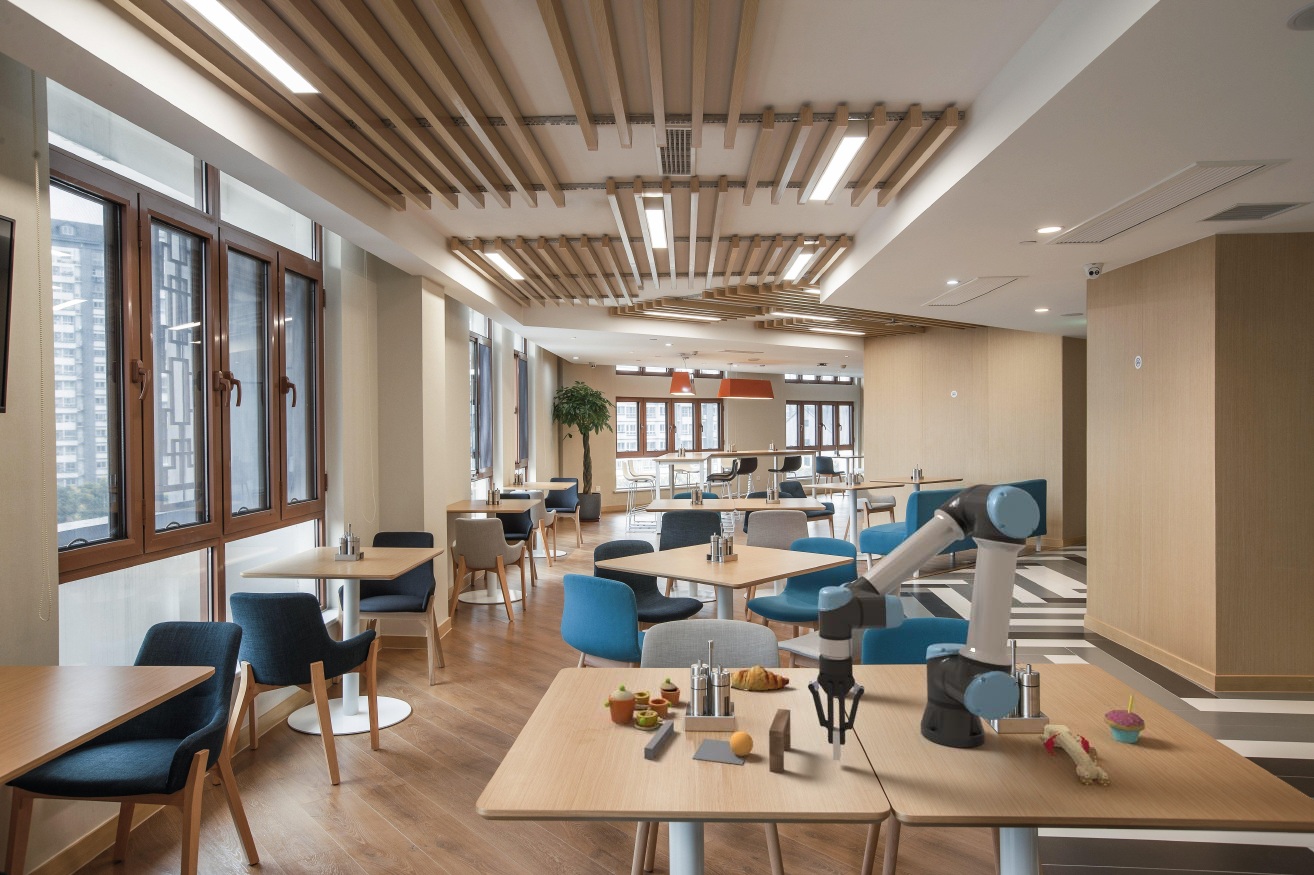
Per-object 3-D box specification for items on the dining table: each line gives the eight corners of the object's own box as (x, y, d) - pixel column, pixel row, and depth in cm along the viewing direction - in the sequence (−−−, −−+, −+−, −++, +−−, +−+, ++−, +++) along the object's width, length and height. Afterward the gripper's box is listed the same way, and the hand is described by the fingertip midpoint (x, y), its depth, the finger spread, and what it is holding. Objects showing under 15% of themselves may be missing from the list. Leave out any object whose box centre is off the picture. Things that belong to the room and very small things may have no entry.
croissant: (720, 699, 218) (719, 680, 215) (721, 675, 227) (720, 656, 224) (790, 701, 215) (789, 682, 212) (788, 676, 224) (788, 657, 220)
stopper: (673, 731, 184) (673, 721, 184) (652, 759, 167) (652, 748, 167) (666, 730, 185) (666, 720, 185) (644, 758, 168) (644, 747, 168)
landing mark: (751, 745, 175) (751, 744, 175) (742, 765, 164) (742, 764, 164) (704, 739, 179) (704, 738, 179) (692, 758, 167) (692, 758, 167)
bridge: (790, 747, 173) (790, 709, 174) (782, 773, 160) (782, 731, 160) (778, 746, 174) (778, 708, 174) (769, 771, 160) (769, 730, 161)
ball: (737, 723, 172) (728, 742, 173) (734, 732, 167) (724, 752, 167) (758, 735, 171) (748, 754, 171) (755, 744, 166) (745, 764, 166)
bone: (1121, 793, 152) (1072, 738, 177) (1121, 753, 152) (1073, 703, 176) (1071, 790, 154) (1030, 735, 178) (1071, 751, 153) (1030, 701, 178)
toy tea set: (653, 735, 183) (653, 697, 183) (600, 726, 189) (600, 690, 189) (688, 702, 207) (688, 669, 207) (639, 695, 213) (639, 663, 213)
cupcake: (1141, 736, 179) (1140, 688, 179) (1148, 749, 171) (1147, 699, 172) (1102, 731, 183) (1101, 684, 183) (1107, 743, 175) (1106, 694, 175)
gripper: (865, 652, 165) (866, 754, 165) (808, 648, 169) (809, 748, 169) (864, 661, 158) (865, 768, 157) (805, 657, 162) (806, 760, 161)
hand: (836, 757), depth 163 cm, fingers closed
